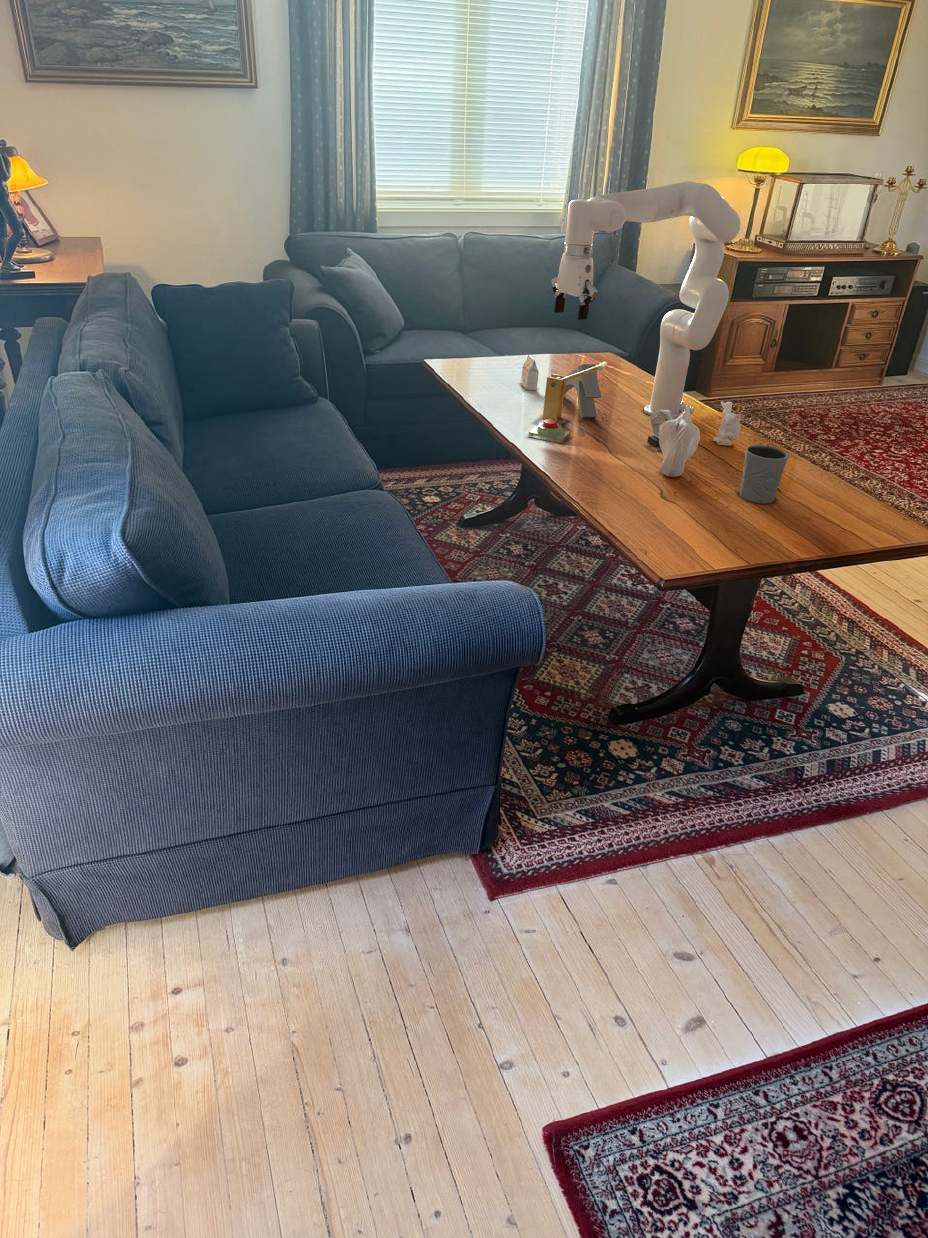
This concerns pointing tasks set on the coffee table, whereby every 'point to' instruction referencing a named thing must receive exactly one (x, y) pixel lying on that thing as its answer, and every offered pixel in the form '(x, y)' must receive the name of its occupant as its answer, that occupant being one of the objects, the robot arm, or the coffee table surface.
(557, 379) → the bracket
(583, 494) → the coffee table surface
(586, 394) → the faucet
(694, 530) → the coffee table surface
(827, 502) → the coffee table surface
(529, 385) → the milk carton
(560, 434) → the button box
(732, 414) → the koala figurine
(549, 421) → the stop button
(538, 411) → the coffee table surface
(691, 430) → the shell sculpture
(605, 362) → the tap lever
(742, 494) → the grey cup
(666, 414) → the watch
